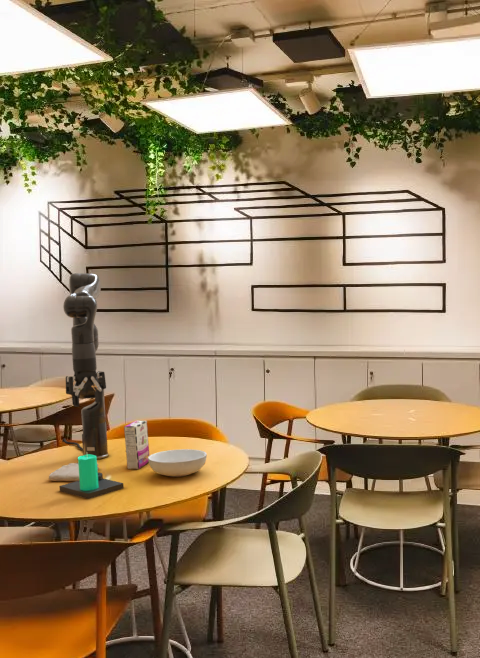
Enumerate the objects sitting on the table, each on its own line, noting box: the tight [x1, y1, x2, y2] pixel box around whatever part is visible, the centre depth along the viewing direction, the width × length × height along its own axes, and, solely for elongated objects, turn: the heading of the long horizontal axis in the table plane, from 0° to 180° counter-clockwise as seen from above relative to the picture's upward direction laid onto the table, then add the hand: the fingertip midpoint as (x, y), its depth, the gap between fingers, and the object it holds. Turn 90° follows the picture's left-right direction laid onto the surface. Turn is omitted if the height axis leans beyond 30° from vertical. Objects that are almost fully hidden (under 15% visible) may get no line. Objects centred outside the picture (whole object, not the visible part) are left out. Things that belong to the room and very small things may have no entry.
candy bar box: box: [123, 420, 150, 470], centre depth 256 cm, size 11×5×16 cm, turn 168°
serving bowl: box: [148, 448, 207, 478], centre depth 243 cm, size 21×21×7 cm
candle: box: [77, 454, 99, 491], centre depth 221 cm, size 6×6×12 cm
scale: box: [58, 472, 125, 500], centre depth 226 cm, size 16×14×4 cm
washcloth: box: [48, 462, 100, 482], centre depth 245 cm, size 12×18×3 cm, turn 173°
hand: (87, 404), depth 227 cm, fingers open, 8 cm apart
